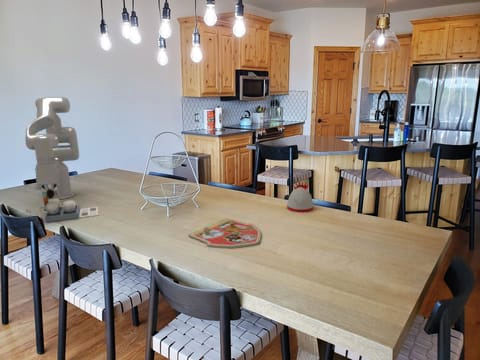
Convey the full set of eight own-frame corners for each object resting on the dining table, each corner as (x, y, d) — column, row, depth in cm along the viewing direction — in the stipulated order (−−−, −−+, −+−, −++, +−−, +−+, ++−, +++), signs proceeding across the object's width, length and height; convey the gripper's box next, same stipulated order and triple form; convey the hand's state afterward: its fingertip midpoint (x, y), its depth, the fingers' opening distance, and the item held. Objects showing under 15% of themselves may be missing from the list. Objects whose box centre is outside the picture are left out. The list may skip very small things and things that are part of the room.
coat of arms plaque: (228, 220, 177) (228, 211, 176) (278, 234, 159) (278, 225, 158) (184, 239, 155) (184, 229, 154) (236, 258, 137) (236, 247, 136)
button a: (50, 207, 187) (48, 198, 186) (60, 206, 189) (59, 197, 188) (49, 210, 183) (47, 201, 182) (59, 209, 185) (58, 200, 183)
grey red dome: (312, 213, 184) (314, 185, 180) (286, 211, 187) (286, 184, 183) (313, 204, 197) (314, 178, 193) (288, 203, 200) (288, 177, 196)
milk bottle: (41, 209, 196) (35, 174, 191) (54, 205, 202) (49, 171, 198) (50, 211, 192) (45, 175, 187) (63, 207, 199) (58, 172, 194)
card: (80, 210, 194) (80, 208, 194) (97, 207, 197) (97, 206, 197) (79, 218, 181) (79, 216, 181) (98, 215, 185) (98, 214, 184)
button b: (66, 211, 191) (65, 202, 189) (76, 209, 193) (75, 201, 191) (65, 214, 186) (64, 204, 185) (76, 212, 188) (74, 203, 187)
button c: (48, 212, 181) (47, 202, 179) (59, 210, 182) (58, 201, 181) (47, 215, 176) (46, 205, 175) (58, 213, 178) (57, 204, 177)
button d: (64, 210, 183) (63, 200, 182) (75, 208, 185) (74, 199, 184) (64, 213, 179) (62, 203, 178) (74, 211, 181) (73, 202, 179)
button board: (48, 213, 189) (47, 208, 188) (79, 209, 194) (78, 204, 194) (45, 223, 175) (44, 217, 175) (78, 218, 181) (77, 213, 180)
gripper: (63, 158, 179) (68, 194, 183) (29, 161, 173) (35, 197, 178) (62, 161, 172) (67, 197, 176) (26, 164, 167) (32, 201, 171)
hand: (51, 197), depth 177 cm, fingers closed
